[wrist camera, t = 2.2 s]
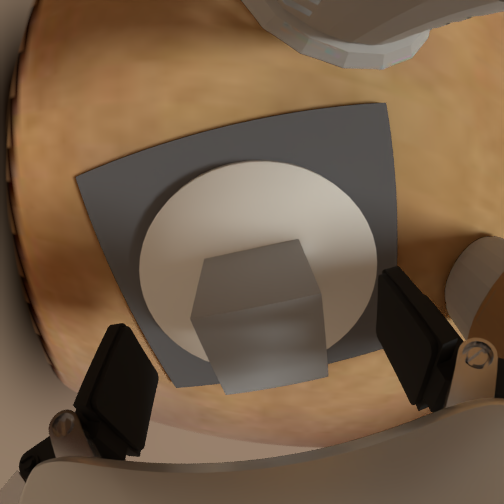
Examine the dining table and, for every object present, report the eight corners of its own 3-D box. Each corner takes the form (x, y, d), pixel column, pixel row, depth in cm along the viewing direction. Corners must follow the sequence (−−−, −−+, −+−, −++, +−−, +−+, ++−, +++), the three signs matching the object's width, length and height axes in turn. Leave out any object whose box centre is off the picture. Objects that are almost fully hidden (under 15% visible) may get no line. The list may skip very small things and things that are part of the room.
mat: (387, 341, 17) (390, 346, 16) (177, 382, 18) (176, 387, 17) (380, 102, 11) (386, 102, 10) (80, 174, 12) (75, 177, 11)
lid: (369, 335, 16) (399, 398, 11) (189, 371, 16) (178, 437, 12) (360, 139, 11) (424, 156, 7) (111, 197, 12) (53, 242, 7)
